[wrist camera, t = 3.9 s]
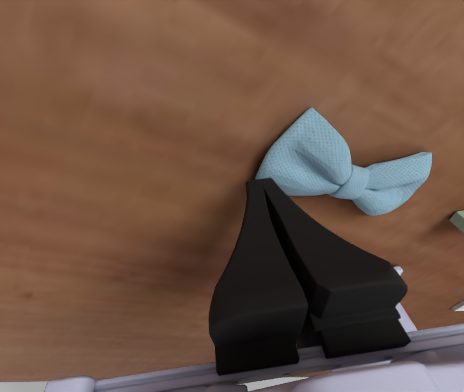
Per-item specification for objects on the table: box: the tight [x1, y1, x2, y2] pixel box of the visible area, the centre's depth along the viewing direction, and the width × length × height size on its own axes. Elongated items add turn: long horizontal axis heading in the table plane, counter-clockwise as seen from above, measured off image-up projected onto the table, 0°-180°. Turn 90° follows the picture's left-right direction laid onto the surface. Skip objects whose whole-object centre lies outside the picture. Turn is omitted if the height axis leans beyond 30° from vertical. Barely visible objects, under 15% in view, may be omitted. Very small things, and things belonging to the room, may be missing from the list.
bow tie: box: [255, 107, 432, 216], centre depth 13 cm, size 10×2×5 cm
